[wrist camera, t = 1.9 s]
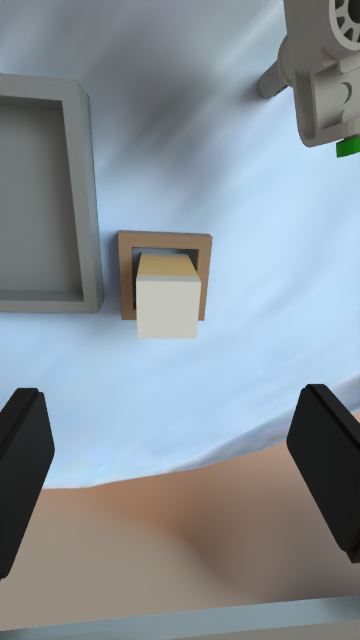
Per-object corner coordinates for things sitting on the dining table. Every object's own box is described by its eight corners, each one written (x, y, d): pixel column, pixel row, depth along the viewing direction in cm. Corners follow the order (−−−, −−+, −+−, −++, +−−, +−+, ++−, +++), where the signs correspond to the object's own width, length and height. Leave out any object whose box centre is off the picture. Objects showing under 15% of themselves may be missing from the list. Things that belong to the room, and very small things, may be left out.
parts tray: (-87, 80, 18) (-131, 61, 15) (88, 95, 19) (77, 80, 16) (-23, 297, 24) (-46, 311, 21) (104, 299, 25) (97, 313, 22)
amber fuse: (141, 252, 24) (135, 280, 16) (187, 253, 24) (201, 282, 17) (142, 295, 25) (137, 338, 18) (184, 296, 26) (196, 338, 19)
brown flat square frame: (120, 230, 23) (117, 233, 21) (208, 233, 23) (212, 237, 22) (123, 312, 26) (121, 319, 24) (201, 313, 27) (203, 320, 25)
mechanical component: (261, 171, 22) (337, 160, 13) (231, -6, 17) (316, -219, 8) (298, 157, 21) (402, 137, 12) (277, -25, 17) (417, -266, 8)
